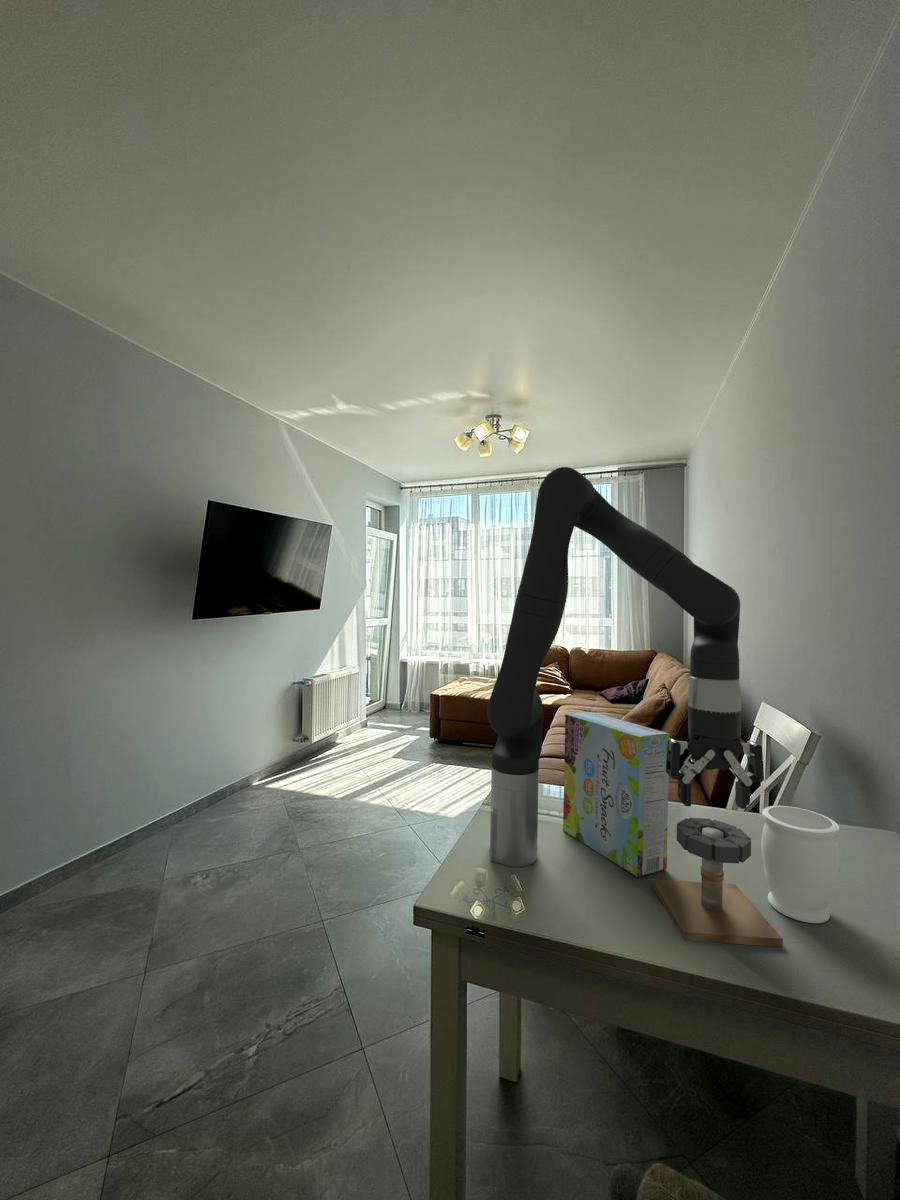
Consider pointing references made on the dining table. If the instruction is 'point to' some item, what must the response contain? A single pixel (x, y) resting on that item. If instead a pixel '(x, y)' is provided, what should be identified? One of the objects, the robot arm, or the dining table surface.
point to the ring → (714, 841)
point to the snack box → (617, 790)
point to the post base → (715, 923)
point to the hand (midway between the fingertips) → (713, 805)
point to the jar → (800, 861)
